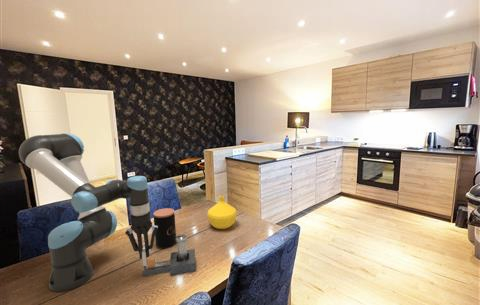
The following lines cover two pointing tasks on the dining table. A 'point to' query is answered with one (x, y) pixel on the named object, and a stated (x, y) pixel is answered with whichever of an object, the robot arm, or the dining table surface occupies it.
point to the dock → (175, 265)
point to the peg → (182, 247)
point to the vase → (222, 214)
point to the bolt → (152, 264)
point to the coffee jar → (165, 227)
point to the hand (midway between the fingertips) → (145, 264)
